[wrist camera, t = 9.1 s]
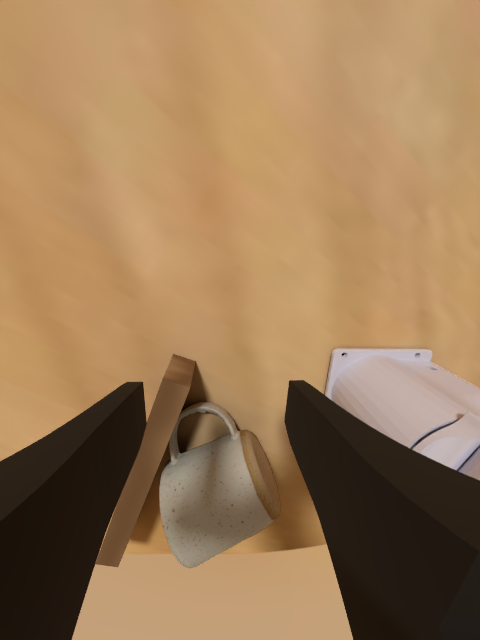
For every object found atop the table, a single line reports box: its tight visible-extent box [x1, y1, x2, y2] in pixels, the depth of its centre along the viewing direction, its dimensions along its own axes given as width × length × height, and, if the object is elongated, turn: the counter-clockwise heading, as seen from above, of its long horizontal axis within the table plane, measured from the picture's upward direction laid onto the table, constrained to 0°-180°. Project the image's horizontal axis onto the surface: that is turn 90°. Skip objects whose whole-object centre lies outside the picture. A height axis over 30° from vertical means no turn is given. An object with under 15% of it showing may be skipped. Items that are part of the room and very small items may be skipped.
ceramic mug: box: [159, 402, 281, 568], centre depth 20 cm, size 11×8×8 cm
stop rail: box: [96, 354, 196, 567], centre depth 21 cm, size 2×20×4 cm, turn 158°
